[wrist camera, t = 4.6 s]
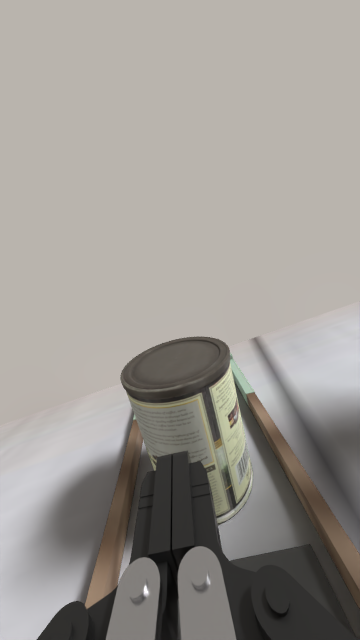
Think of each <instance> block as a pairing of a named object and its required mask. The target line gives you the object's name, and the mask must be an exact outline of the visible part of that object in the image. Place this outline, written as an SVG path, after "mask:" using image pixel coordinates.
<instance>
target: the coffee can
mask: <svg viewBox="0 0 360 640" xmlns="http://www.w3.org/2000/svg"><path fill="white" fill-rule="evenodd" d="M121 382H122V385H123V387H124V389H125V390H126V392H127V395H128V398H129V400H130V403H131V406H132V409H133V412H134V415H135V417H136V420H137V423H138V426H139V429H140V432H141V434H142V437H143V440H144V443H145V446H146V449H147V452H148V454H149V457H150V460H151V463H152V466H153V468H154V471H156V463H157V457H159V456H164V455H168V454H173V453H177V452H182V451H187V450H188V452H189V455H190V459H191V463H193V462H198V461H201V463H202V464H203V466H204V467H205V469H206V470H207V474H208V479H209V483H210V487H211V491H212V495H213V500H214V506H215V512H216V518H217V524H218V523H222V522H224V521H226V520H228V519H230V518H231V517H232V516H234V515H235V514H236V513H237V512H238V511H239V510H240V509H241V508H242V507H243V505H244V504H245V503H246V501H247V499H248V497H249V494H250V491H251V488H252V483H253V470H252V465H251V462H250V458H249V454H248V449H247V444H246V439H245V434H244V429H243V424H242V419H241V414H240V409H239V404H238V399H237V394H236V389H235V384H234V379H233V374H232V369H231V364H230V350H229V347H228V346H227V345H226V344H225V343H224V342H223V341H221V340H219V339H215V338H210V337H188V338H182V339H176V340H172V341H169V342H166V343H162V344H160V345H157V346H155V347H152V348H150V349H148V350H146V351H144V352H142V353H141V354H139V355H138V356H136V357H135V358H133V359H132V360H131V361H130V362H129V363H128V364H127V365H126V366H125V367H124V369H123V370H122V373H121Z"/></svg>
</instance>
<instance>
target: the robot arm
mask: <svg viewBox="0 0 360 640" xmlns="http://www.w3.org/2000/svg"><path fill="white" fill-rule="evenodd" d="M178 599H179V610H180V626H181V640H357V639H356V638H355V637H354V636H353V635H352V634H351V633H350V632H349V631H348V630H347V629H346V628H345V627H344V626H343V625H342V624H341V623H340V622H339V621H338V620H337V619H336V618H335V617H334V616H332V615H331V614H330V613H329V612H328V611H327V610H326V609H325V608H324V607H323V606H322V605H321V604H320V603H319V602H318V601H317V600H316V599H315V598H314V597H313V596H312V595H311V594H310V593H309V592H308V591H306V590H305V589H304V588H303V587H302V586H301V585H300V584H299V583H298V582H297V581H296V580H295V579H294V578H293V577H292V576H291V575H290V574H289V573H288V572H286V571H285V570H284V569H282V568H280V567H278V566H275V565H265V566H263V567H261V568H260V569H259V570H258V571H257V572H253V571H250V570H246V569H243V568H240V567H237V566H235V565H234V564H232V563H231V562H230V561H229V560H228V559H227V558H226V557H225V555H224V554H223V552H222V547H221V541H220V535H219V530H218V524H217V518H216V512H215V506H214V500H213V495H212V491H211V487H210V483H209V479H208V474H207V470H206V469H205V467H204V466H203V464H202V463H201V461H198V462H193V463H191V459H190V455H189V452H188V450H187V451H182V452H177V453H173V454H168V455H164V456H159V457H157V463H156V471H151V472H148V473H147V475H146V477H145V479H144V481H143V483H142V487H141V493H140V500H139V507H138V513H137V520H136V527H135V533H134V540H133V547H132V553H131V559H130V563H129V566H128V567H127V569H126V570H125V571H124V573H123V575H122V577H121V579H120V581H119V584H118V586H117V587H116V588H115V589H114V590H113V591H112V592H111V593H109V594H108V595H107V596H105V597H104V598H102V599H101V600H99V601H98V602H96V603H95V604H93V605H92V606H91V607H89V608H88V609H87V608H86V606H85V605H84V604H83V603H81V602H78V601H75V602H71V603H69V604H67V605H65V606H64V607H63V608H62V609H61V610H60V611H59V612H58V613H57V614H56V615H55V616H54V617H53V619H52V620H51V621H50V623H49V624H48V625H47V627H46V628H45V629H44V631H43V632H42V633H41V635H40V636H39V637H38V639H37V640H180V632H179V626H178Z"/></svg>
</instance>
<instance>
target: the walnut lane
mask: <svg viewBox="0 0 360 640" xmlns="http://www.w3.org/2000/svg"><path fill="white" fill-rule="evenodd" d="M246 395H247V401H248V406H249V408H250V410H251V411H252V413H253V415H254V417H255V419H256V421H257V422H258V424H259V426H260V428H261V430H262V432H263V433H264V435H265V437H266V439H267V441H268V443H269V444H270V446H271V448H272V450H273V452H274V454H275V455H276V457H277V459H278V461H279V463H280V465H281V466H282V468H283V470H284V472H285V474H286V476H287V477H288V479H289V481H290V483H291V485H292V487H293V488H294V490H295V492H296V494H297V496H298V498H299V499H300V501H301V503H302V505H303V507H304V509H305V510H306V512H307V514H308V516H309V518H310V520H311V521H312V523H313V525H314V527H315V529H316V531H317V532H318V534H319V536H320V538H321V540H322V542H323V543H324V545H325V547H326V549H327V551H328V553H329V554H330V556H331V558H332V560H333V562H334V564H335V565H336V567H337V569H338V571H339V573H340V575H341V576H342V578H343V580H344V582H345V584H346V586H347V587H348V589H349V591H350V593H351V595H352V597H353V598H354V600H355V602H356V604H357V606H358V608H359V609H360V554H359V552H358V551H357V549H356V548H355V546H354V545H353V543H352V542H351V540H350V539H349V537H348V536H347V534H346V533H345V531H344V529H343V528H342V526H341V525H340V523H339V522H338V520H337V519H336V517H335V516H334V514H333V513H332V511H331V509H330V508H329V506H328V505H327V503H326V502H325V500H324V499H323V497H322V496H321V494H320V493H319V491H318V490H317V488H316V486H315V485H314V483H313V482H312V480H311V479H310V477H309V476H308V474H307V473H306V471H305V470H304V468H303V466H302V465H301V463H300V462H299V460H298V459H297V457H296V456H295V454H294V453H293V451H292V450H291V448H290V446H289V445H288V443H287V442H286V440H285V439H284V437H283V436H282V434H281V433H280V431H279V430H278V428H277V427H276V425H275V423H274V422H273V420H272V419H271V417H270V416H269V414H268V413H267V411H266V410H265V408H264V407H263V405H262V403H261V402H260V400H259V399H258V397H257V396H256V394H255V393H250V394H246ZM142 443H143V437H142V434H141V432H140V429H139V426H138V423H137V420H133V424H132V427H131V431H130V435H129V439H128V443H127V446H126V450H125V454H124V458H123V462H122V466H121V469H120V473H119V477H118V481H117V485H116V488H115V492H114V496H113V500H112V504H111V507H110V511H109V515H108V519H107V523H106V526H105V530H104V534H103V538H102V542H101V546H100V549H99V553H98V557H97V561H96V565H95V568H94V572H93V576H92V580H91V584H90V587H89V591H88V595H87V599H86V603H85V606H86V608H87V609H88V608H89V607H91V606H92V605H93V604H95V603H96V602H98V601H99V600H101V599H102V598H104V597H105V596H107V595H108V594H109V593H111V592H112V591H113V590H114V589H115V588H116V587H117V584H118V578H119V573H120V567H121V561H122V556H123V550H124V544H125V539H126V533H127V528H128V522H129V516H130V511H131V505H132V499H133V494H134V488H135V482H136V477H137V471H138V465H139V460H140V454H141V448H142Z"/></svg>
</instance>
